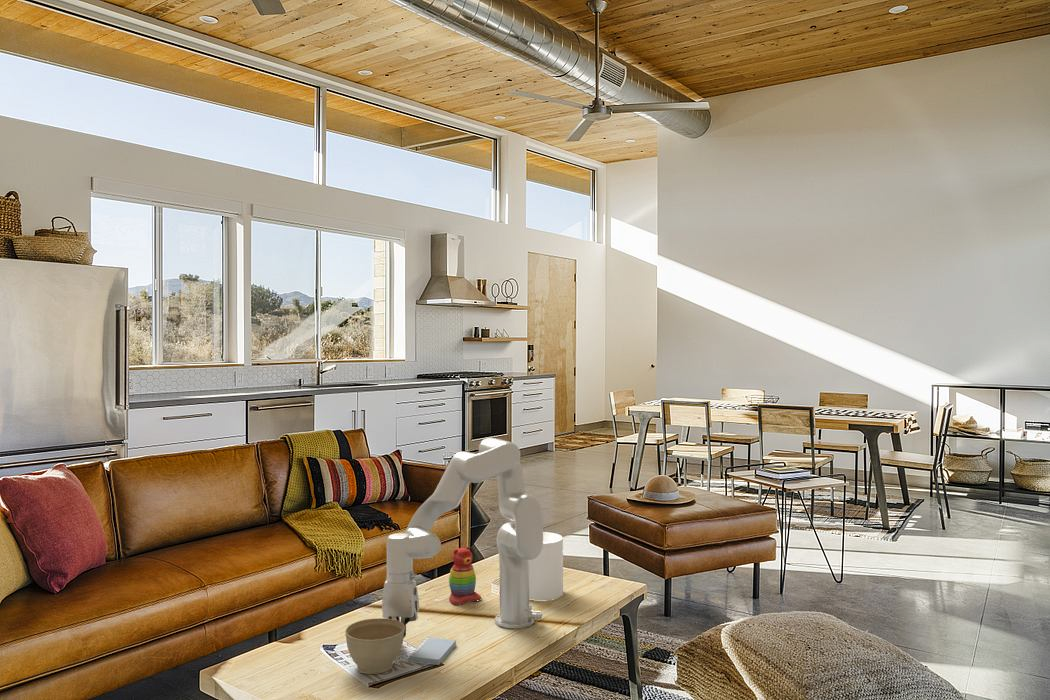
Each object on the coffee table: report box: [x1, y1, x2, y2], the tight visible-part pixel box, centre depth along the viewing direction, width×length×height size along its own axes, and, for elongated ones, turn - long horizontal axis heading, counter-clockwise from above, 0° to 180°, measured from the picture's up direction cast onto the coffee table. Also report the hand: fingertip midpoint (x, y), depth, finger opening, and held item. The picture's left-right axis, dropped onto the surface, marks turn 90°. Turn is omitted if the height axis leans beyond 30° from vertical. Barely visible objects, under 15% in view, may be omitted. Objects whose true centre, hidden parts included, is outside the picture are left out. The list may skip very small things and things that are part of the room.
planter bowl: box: [344, 617, 405, 675], centre depth 209 cm, size 16×16×11 cm
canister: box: [528, 531, 564, 601], centre depth 268 cm, size 16×16×20 cm
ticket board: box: [408, 636, 457, 666], centre depth 218 cm, size 9×14×2 cm, turn 166°
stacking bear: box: [448, 546, 482, 606], centre depth 263 cm, size 11×10×18 cm
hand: (400, 638), depth 221 cm, fingers closed
